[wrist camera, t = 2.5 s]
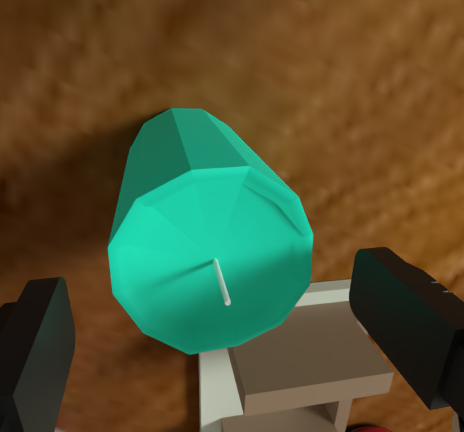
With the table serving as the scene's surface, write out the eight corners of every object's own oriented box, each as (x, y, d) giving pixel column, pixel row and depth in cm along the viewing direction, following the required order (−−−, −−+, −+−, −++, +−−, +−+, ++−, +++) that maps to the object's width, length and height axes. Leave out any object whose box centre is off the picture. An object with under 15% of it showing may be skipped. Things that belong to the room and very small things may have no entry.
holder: (197, 294, 23) (214, 384, 17) (356, 278, 25) (424, 354, 19) (199, 431, 29) (213, 538, 22) (330, 409, 31) (376, 501, 24)
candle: (222, 225, 22) (291, 399, 11) (117, 202, 20) (77, 384, 9) (255, 125, 19) (382, 218, 9) (142, 90, 18) (129, 154, 7)
